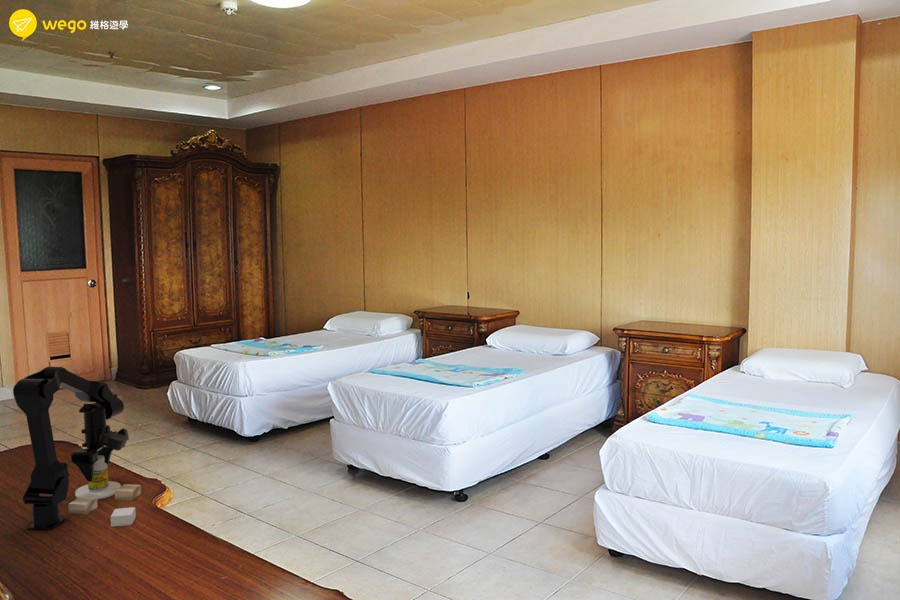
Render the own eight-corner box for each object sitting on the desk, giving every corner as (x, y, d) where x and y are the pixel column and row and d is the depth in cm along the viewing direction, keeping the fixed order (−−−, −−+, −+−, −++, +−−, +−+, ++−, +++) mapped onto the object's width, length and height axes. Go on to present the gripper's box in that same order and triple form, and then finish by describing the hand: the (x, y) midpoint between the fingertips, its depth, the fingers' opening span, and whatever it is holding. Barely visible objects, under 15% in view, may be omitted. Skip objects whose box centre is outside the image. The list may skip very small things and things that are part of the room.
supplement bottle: (105, 484, 203) (103, 453, 202) (111, 489, 199) (109, 457, 198) (85, 488, 200) (84, 457, 199) (91, 493, 196) (89, 461, 195)
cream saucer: (109, 500, 194) (109, 496, 194) (67, 500, 194) (66, 496, 193) (127, 484, 206) (127, 481, 206) (87, 484, 205) (87, 481, 205)
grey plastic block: (131, 525, 178) (131, 514, 178) (111, 527, 177) (110, 516, 176) (135, 517, 183) (135, 507, 182) (115, 519, 182) (115, 508, 181)
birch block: (85, 515, 184) (85, 504, 184) (68, 514, 185) (68, 503, 184) (97, 507, 189) (97, 497, 189) (80, 506, 190) (80, 496, 189)
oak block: (131, 501, 194) (131, 491, 193) (115, 500, 194) (114, 490, 194) (141, 494, 199) (140, 484, 198) (124, 494, 199) (124, 484, 199)
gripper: (108, 433, 189) (110, 487, 190) (136, 415, 207) (138, 464, 209) (67, 433, 188) (70, 487, 190) (99, 415, 207) (101, 464, 208)
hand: (97, 475), depth 199 cm, fingers open, 9 cm apart
